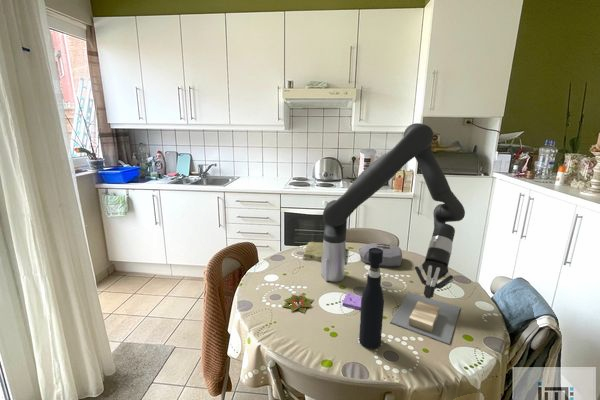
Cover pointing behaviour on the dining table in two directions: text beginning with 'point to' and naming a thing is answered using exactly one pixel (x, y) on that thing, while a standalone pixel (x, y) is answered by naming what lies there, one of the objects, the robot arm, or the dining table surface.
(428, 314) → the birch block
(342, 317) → the dining table surface
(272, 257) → the dining table surface
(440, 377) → the dining table surface
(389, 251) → the small grey backpack
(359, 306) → the sponges
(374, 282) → the black water bottle
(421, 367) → the dining table surface
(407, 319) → the rubber mat
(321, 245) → the decorative tile
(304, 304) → the green leafy rosette
